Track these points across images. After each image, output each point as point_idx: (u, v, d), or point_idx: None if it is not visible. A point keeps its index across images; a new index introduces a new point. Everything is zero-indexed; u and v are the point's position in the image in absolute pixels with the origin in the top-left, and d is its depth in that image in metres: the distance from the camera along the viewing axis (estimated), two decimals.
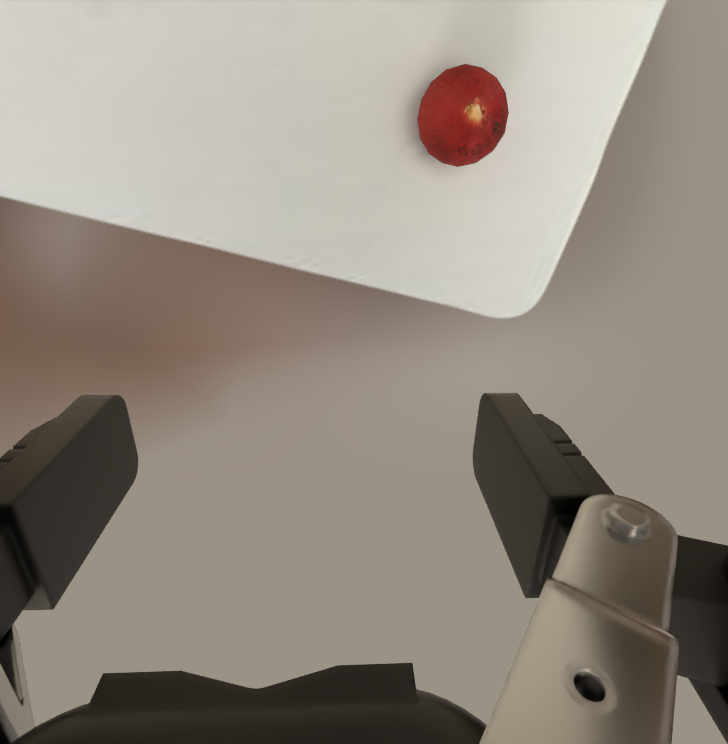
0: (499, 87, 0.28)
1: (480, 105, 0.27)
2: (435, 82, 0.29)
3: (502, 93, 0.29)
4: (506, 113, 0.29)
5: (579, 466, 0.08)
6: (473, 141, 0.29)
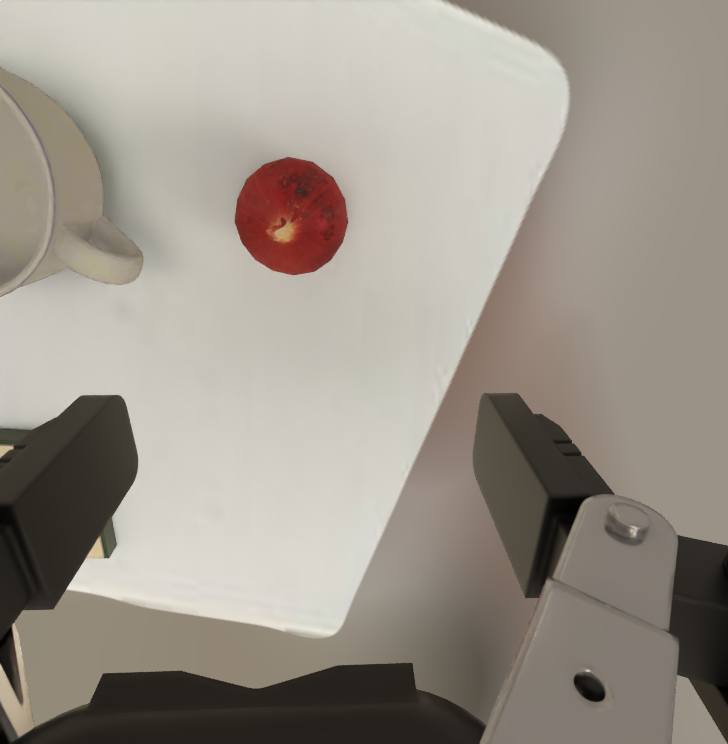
0: (256, 183, 0.22)
1: (275, 228, 0.21)
2: (255, 259, 0.25)
3: (263, 179, 0.22)
4: (286, 168, 0.22)
5: (579, 466, 0.08)
6: (317, 223, 0.22)
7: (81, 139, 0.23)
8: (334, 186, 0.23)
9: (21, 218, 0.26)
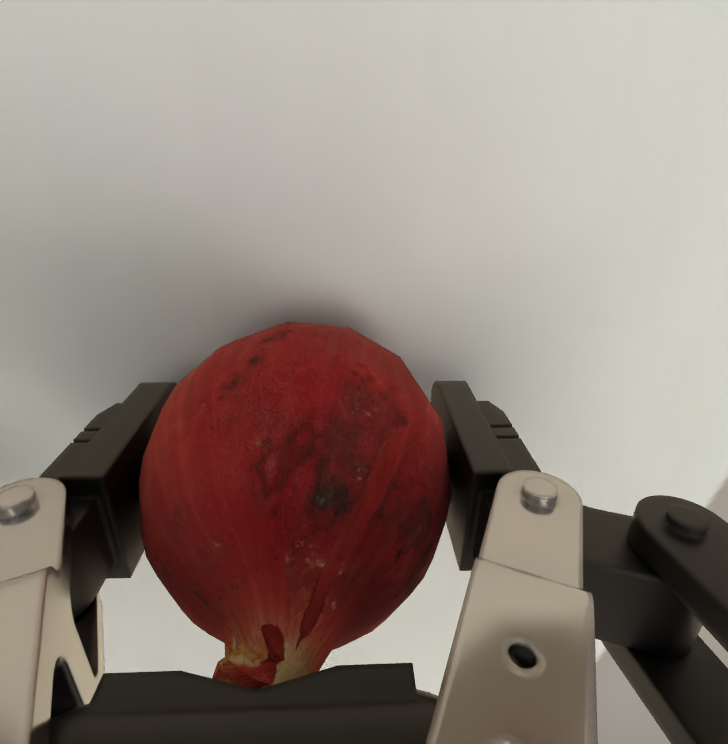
0: (180, 456, 0.07)
1: (243, 686, 0.05)
2: None
3: (199, 448, 0.07)
4: (274, 400, 0.07)
5: (514, 448, 0.09)
6: (387, 582, 0.07)
7: None
8: (420, 411, 0.08)
9: None
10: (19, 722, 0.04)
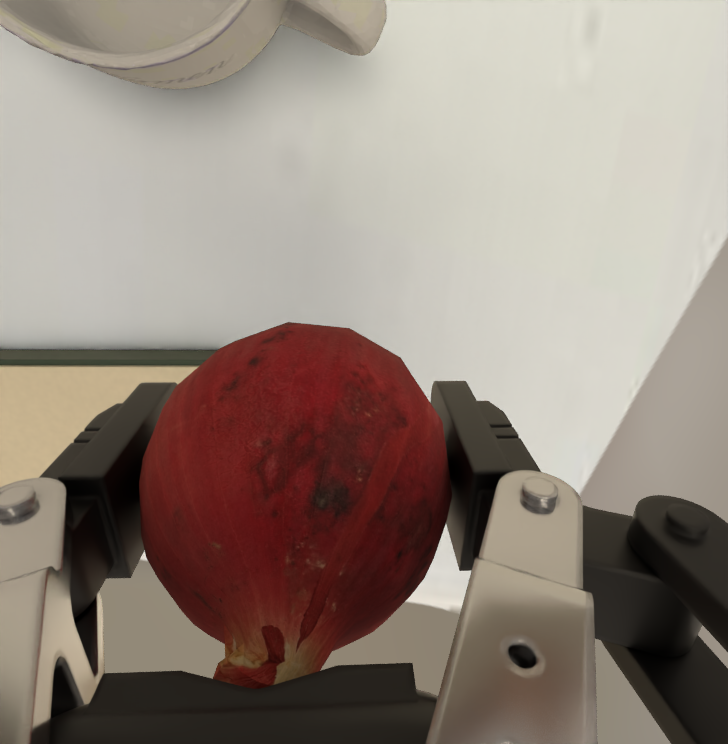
0: (180, 457, 0.07)
1: (244, 686, 0.05)
2: None
3: (199, 449, 0.07)
4: (274, 401, 0.07)
5: (513, 447, 0.09)
6: (388, 583, 0.07)
7: None
8: (420, 412, 0.08)
9: (170, 7, 0.18)
10: (19, 723, 0.04)
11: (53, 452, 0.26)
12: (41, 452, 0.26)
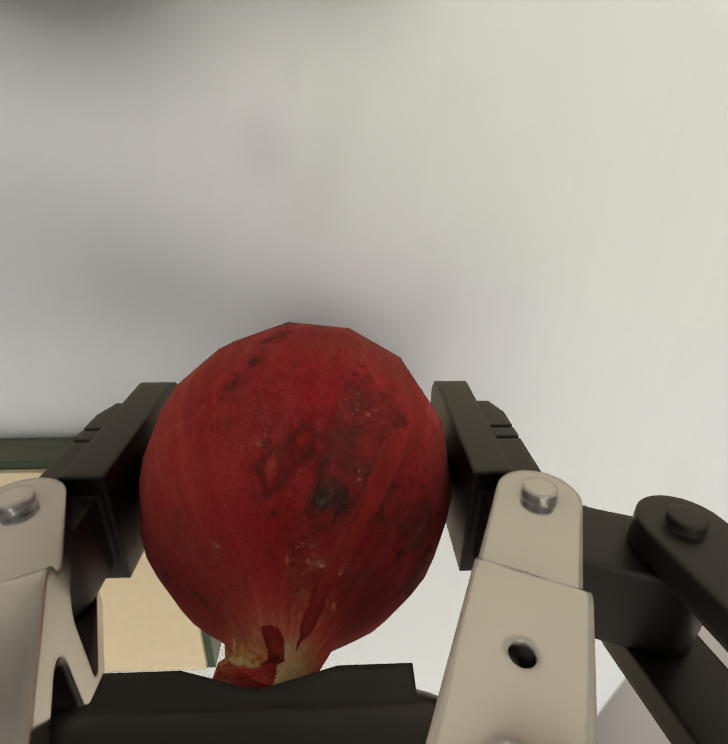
0: (180, 457, 0.07)
1: None
2: None
3: (199, 449, 0.07)
4: (274, 401, 0.07)
5: (513, 448, 0.09)
6: (388, 583, 0.07)
7: None
8: (420, 411, 0.08)
9: None
10: (19, 722, 0.04)
11: None
12: None
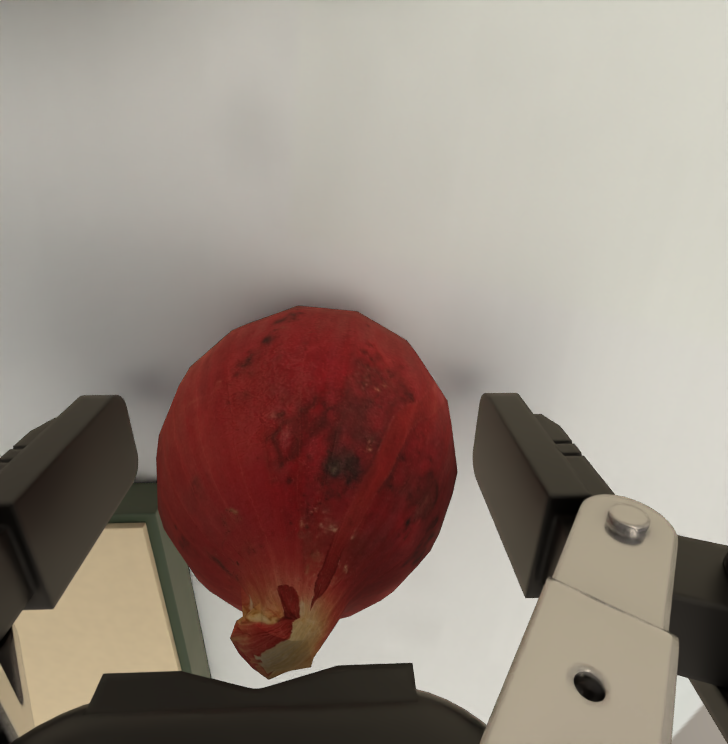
0: (198, 430, 0.07)
1: (261, 641, 0.06)
2: None
3: (216, 421, 0.07)
4: (287, 376, 0.07)
5: (579, 466, 0.08)
6: (397, 550, 0.07)
7: None
8: (427, 389, 0.08)
9: None
10: None
11: None
12: None
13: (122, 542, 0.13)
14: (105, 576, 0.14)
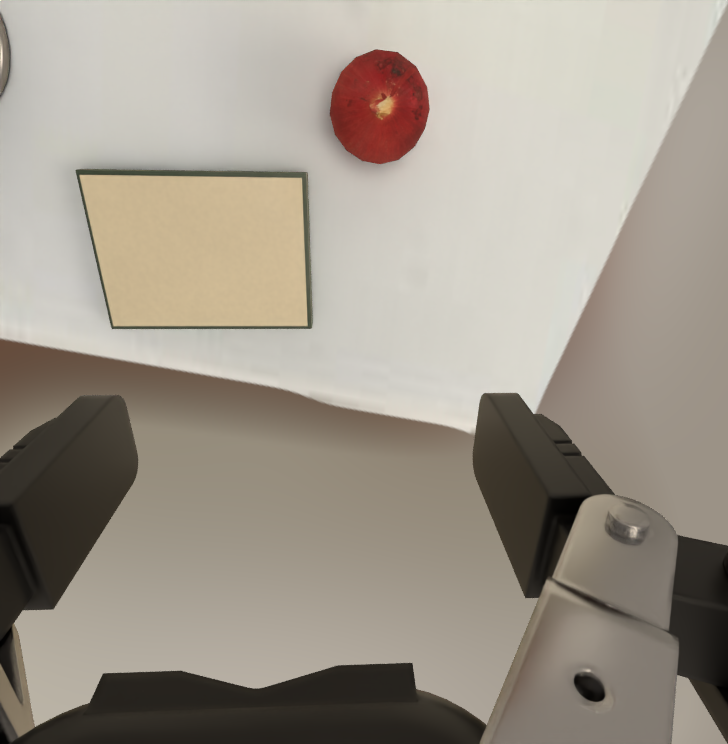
0: (354, 69, 0.25)
1: (378, 101, 0.24)
2: (348, 148, 0.28)
3: (360, 65, 0.25)
4: (379, 55, 0.25)
5: (579, 466, 0.08)
6: (410, 101, 0.25)
7: None
8: (419, 73, 0.26)
9: None
10: None
11: (158, 257, 0.33)
12: (148, 257, 0.33)
13: (292, 186, 0.31)
14: (282, 206, 0.32)
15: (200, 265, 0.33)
